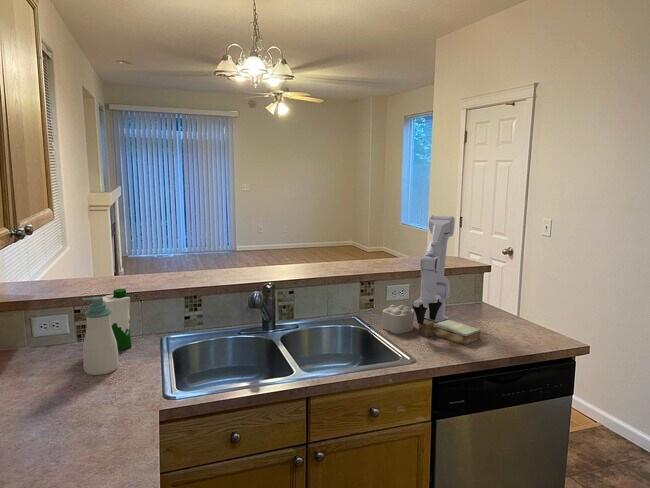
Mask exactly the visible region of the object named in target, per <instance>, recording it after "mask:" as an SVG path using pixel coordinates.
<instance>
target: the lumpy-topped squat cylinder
mask: <svg viewBox="0 0 650 488" xmlns="http://www.w3.org/2000/svg"><path fill="white" fill-rule="evenodd" d="M414 318H415V311H414V309H413V307H410V306H406V305H405V304H400V305H399V306H398V305H395V304H391V305H390V306H389V307H387V308H385V309H383V310H382V316H381V329H382V330H385V331H388V332H390V333H391V334H405V333H408V332H411V331H413V330H414V321H415V319H414Z"/></svg>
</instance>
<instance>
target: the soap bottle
mask: <svg viewBox="0 0 650 488" xmlns="http://www.w3.org/2000/svg"><path fill="white" fill-rule="evenodd" d="M103 297H104V296H94V297H85V298H81V299H82V302H89V301H91V303H90V304H89V309H87V311H85V312H84V314H83V315H84V316H85V317H86V330H85V335H84V340H83V344H82V362H83V371H84V373H86V374H87V375H90V376H103V375H107V374H110V373H112V372H114V371H116V370H117V369H118V368H119V365H120V361H119V360H120V359H119V351H118V348H117V341H116V339H115V336H114V333H113V330H112V327H111V321H110V313H111V312H112V311H111V310H110V309H108V308H106V303H104V302H103Z"/></svg>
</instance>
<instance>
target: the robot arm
mask: <svg viewBox="0 0 650 488" xmlns="http://www.w3.org/2000/svg"><path fill="white" fill-rule="evenodd" d="M428 219H429V220H428V228H429V232H430V234H431V238H430V239H431V240H430V241H429V242H427V245H426V248H425V250H424V254H423V256H422V257H421V258H420V276H421V278H420V297H419V298H417V299H416V300H414V301H413V304H412V309H413V310H414V314H415V316H416V320H417V321H416V322H417V324H418V325H419V324H423V323H424V320H428V321H431V322H436V323H439V322H442V321H446V320H449V317H448V316H445V315H446V314H445V312H446V299H449V297H450V293H451V281H450V280H449V279H448V278H447V277H446V276H445V269H446V268H445V267H446V258H447V248H448V240H449V238H450V237H453V235H454V232H455V224H456V223H455V221H456V218H455V217H454V216H453V215H452V216H448V215H447V216H446V215H433V214H431V215H430V216H429V218H428Z"/></svg>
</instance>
